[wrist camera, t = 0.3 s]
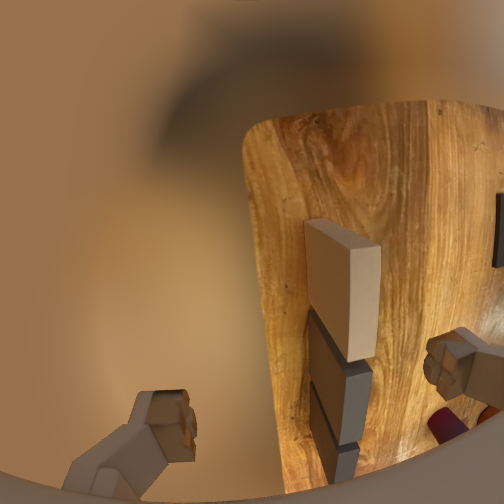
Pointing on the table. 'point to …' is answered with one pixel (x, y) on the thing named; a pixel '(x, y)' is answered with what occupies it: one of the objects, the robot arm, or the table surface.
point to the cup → (446, 425)
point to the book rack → (499, 233)
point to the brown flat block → (344, 285)
